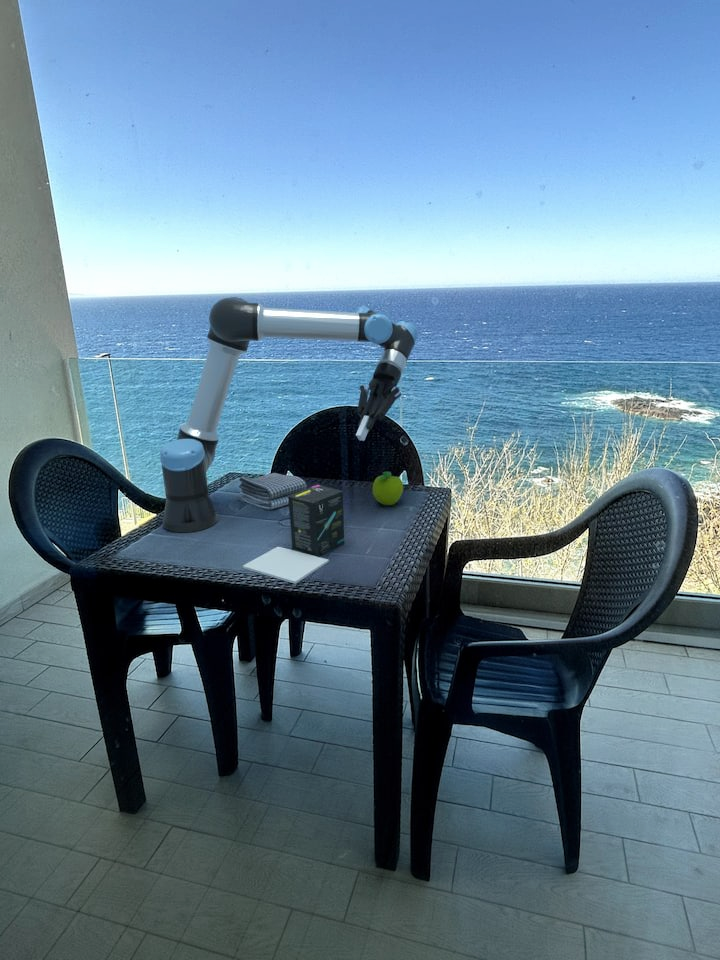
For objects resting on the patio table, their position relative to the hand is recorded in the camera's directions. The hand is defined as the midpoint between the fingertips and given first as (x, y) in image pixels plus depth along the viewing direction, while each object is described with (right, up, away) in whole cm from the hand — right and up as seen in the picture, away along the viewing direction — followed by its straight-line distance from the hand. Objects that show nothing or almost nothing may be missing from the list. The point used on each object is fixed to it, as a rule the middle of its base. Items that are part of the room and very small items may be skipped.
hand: (359, 437), depth 161 cm
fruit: (+9, -19, +19) cm, 28 cm away
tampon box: (-11, -29, -10) cm, 32 cm away
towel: (-28, -18, +26) cm, 43 cm away
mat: (-18, -32, -20) cm, 42 cm away
